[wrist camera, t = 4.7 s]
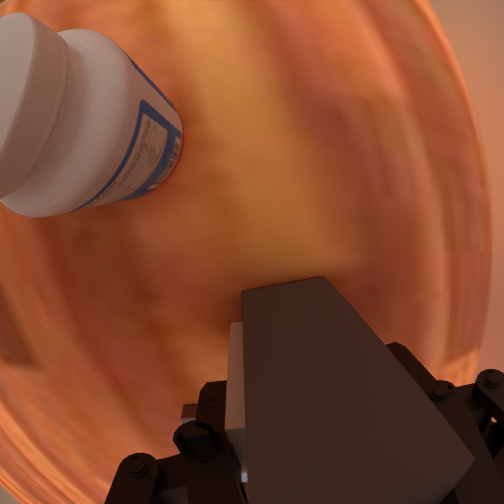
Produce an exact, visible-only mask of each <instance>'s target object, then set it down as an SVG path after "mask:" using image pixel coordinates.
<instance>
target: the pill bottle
mask: <svg viewBox="0 0 504 504" xmlns="http://www.w3.org/2000/svg"><path fill="white" fill-rule="evenodd" d="M182 143H183V130H182V124H181V120H180V117H179V115H178V113H177V111H176V109H175V108H174V106H173V105H172V103H171V102H170V101H169V100H168V98H167V97H166V96H165V95H164V94H163V93H162V92H161V91H160V90H159V89H158V88H157V87H156V85H155V84H154V83H153V82H152V81H151V80H150V79H149V78H148V77H147V76H146V74H145V73H144V72H143V71H142V70H141V69H140V68H139V67H138V66H137V65H136V64H135V63H134V61H133V60H132V59H131V58H130V57H129V56H128V55H127V54H126V53H125V52H124V51H123V50H122V49H121V48H120V47H119V46H118V45H117V44H116V43H115V42H114V41H113V40H112V39H110V38H109V37H107V36H106V35H104V34H101V33H99V32H96V31H93V30H88V29H71V30H65V31H61V32H58V33H57V32H55V31H54V30H52V29H51V28H49V27H47V26H46V25H44V24H42V23H41V22H39V21H38V20H36V19H34V18H33V17H31V16H29V15H28V14H25V13H21V12H15V13H11V14H8V15H5V16H3V17H1V18H0V202H1V203H2V204H3V205H4V206H6V207H7V208H8V209H10V210H11V211H13V212H15V213H17V214H19V215H23V216H26V217H32V218H40V217H49V216H54V215H59V214H64V213H68V212H73V211H76V210H80V209H85V208H89V207H94V206H98V205H103V204H108V203H112V202H117V201H122V200H129V199H133V198H137V197H140V196H143V195H145V194H148V193H149V192H151V191H153V190H154V189H156V188H157V187H158V186H160V185H161V184H162V183H163V182H164V181H165V180H166V179H167V177H168V176H169V175H170V174H171V172H172V171H173V169H174V167H175V165H176V164H177V161H178V159H179V156H180V153H181V149H182Z"/></svg>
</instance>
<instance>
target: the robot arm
mask: <svg viewBox="0 0 504 504" xmlns="http://www.w3.org/2000/svg"><path fill="white" fill-rule="evenodd" d="M385 346H386V347H387V348H388V349H389V350H390V351H391V353H392V354H393V355H394V356H395V357H396V359H397V360H398V361H399V362H400V363H401V365H402V366H403V367H404V368H405V369H406V371H407V372H408V373H409V374H410V375H411V377H412V378H413V379H414V380H415V382H416V383H417V384H418V385H419V386H420V388H421V389H422V390H423V391H424V393H425V394H426V395H427V396H428V398H429V399H430V400H431V401H432V403H433V404H434V405H435V406H436V408H437V409H438V410H439V412H440V413H441V414H442V415H443V417H444V418H445V419H446V421H447V422H448V423H449V424H450V426H451V427H452V428H453V430H454V431H455V432H456V434H457V435H458V436H459V438H460V439H461V440H462V442H463V443H464V444H465V446H466V447H467V448H468V450H469V451H470V452H471V454H472V455H473V457H474V458H475V460H474V461H473V463H472V464H471V466H470V467H469V468H468V470H467V471H466V473H465V474H464V475H463V476H462V478H461V479H460V480H459V482H458V483H457V484H456V485H455V487H454V488H453V489H452V490H451V491H450V493H449V494H448V495H447V496H446V497H445V498H444V500H443V501H442V502H441V503H440V504H504V373H502V372H500V371H499V370H495V369H486V370H484V371H482V372H480V373H479V374H478V376H477V379H476V382H475V383H473V384H468V385H464V386H459V387H455V386H454V385H453V384H452V383H450V382H448V381H443V380H436V379H435V378H434V377H433V376H432V375H431V374H430V373H429V372H428V371H427V369H426V368H425V367H424V366H423V365H422V364H421V363H420V362H419V361H417V359H416V358H415V356H414V355H412V353H411V352H410V351H409V350H408V349H407V348H406V347H405V346H403V345H401V344H399V343H397V342H393V343H390V344H387V345H385ZM198 401H199V403H198V406H197V412H196V419H195V420H192V421H189V422H186V423H184V424H183V425H181V426H180V427H178V429H177V430H176V431H175V433H174V436H173V441H174V443H175V444H176V446H177V448H178V449H179V451H180V453H179V454H177V455H174V456H171V457H167V458H163V459H158V460H156V459H155V458H154V457H153V456H151V455H150V454H146V453H135V454H132V455H129V456H127V457H126V458H125V459H123V460H122V462H121V463H120V465H119V467H118V470H117V472H116V475H115V477H114V480H113V482H112V485H111V488H110V490H109V493H108V495H107V498H106V501H105V503H104V504H248V496H247V493H246V490H245V486H244V484H243V482H242V472H243V474H244V475H247V457H246V429H245V398H244V363H243V322H242V321H241V322H234V323H230V338H229V356H228V374H227V380H223V381H215V382H207V383H206V384H205V385H204V387H203V388H202V389H201V391H200V395H199V400H198ZM492 417H493V418H494V419H495V420H496V421H497V422H492V421H491V419H492ZM241 470H242V472H241Z"/></svg>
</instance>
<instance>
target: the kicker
mask: <svg viewBox="0 0 504 504" xmlns="http://www.w3.org/2000/svg"><path fill="white" fill-rule="evenodd" d="M242 322H243V363H244V398H245V429H246V457H247V475H244V474H243V472H242V470H241V472H242V482H248V504H440V503H441V502H442V501H443V500H444V498H445V497H446V496H447V495H448V494H449V493H450V491H451V490H452V489H453V488H454V487H455V485H456V484H457V483H458V482H459V480H460V479H461V478H462V476H463V475H464V474H465V473H466V471H467V470H468V468H469V467H470V466H471V464H472V463H473V461H474V460H475V458H474V457H473V455H472V454H471V452H470V451H469V450H468V448H467V447H466V446H465V444H464V443H463V442H462V440H461V439H460V438H459V436H458V435H457V434H456V432H455V431H454V430H453V428H452V427H451V426H450V424H449V423H448V422H447V421H446V419H445V418H444V417H443V415H442V414H441V413H440V412H439V410H438V409H437V408H436V406H435V405H434V404H433V403H432V401H431V400H430V399H429V398H428V396H427V395H426V394H425V393H424V391H423V390H422V389H421V388H420V386H419V385H418V384H417V383H416V382H415V380H414V379H413V378H412V377H411V375H410V374H409V373H408V372H407V371H406V369H405V368H404V367H403V366H402V365H401V363H400V362H399V361H398V360H397V359H396V357H395V356H394V355H393V354H392V353H391V351H390V350H389V349H388V348H387V347H386V346H385V344H384V343H383V342H382V341H381V340H380V339H379V337H378V336H377V335H376V334H375V333H374V332H373V330H372V329H371V328H370V327H369V326H368V325H367V323H366V322H365V321H364V320H363V319H362V318H361V317H360V315H359V314H358V313H357V312H356V311H355V310H354V309H353V308H352V306H351V305H350V304H349V303H348V302H347V301H346V300H345V299H344V297H343V296H342V295H341V294H340V293H339V292H338V291H337V290H336V289H335V287H334V286H333V285H332V284H331V283H330V282H329V281H328V280H327V279H326V278H325V276H323V277H318V278H313V279H308V280H302V281H297V282H292V283H286V284H281V285H275V286H269V287H264V288H258V289H252V290H246V291H242Z"/></svg>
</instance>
